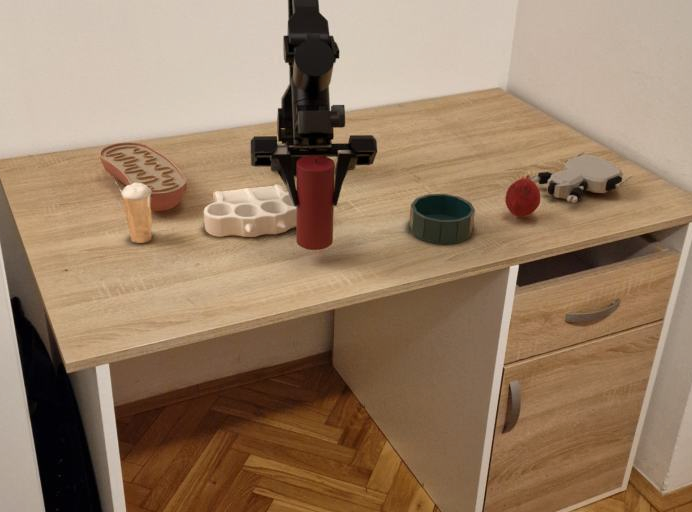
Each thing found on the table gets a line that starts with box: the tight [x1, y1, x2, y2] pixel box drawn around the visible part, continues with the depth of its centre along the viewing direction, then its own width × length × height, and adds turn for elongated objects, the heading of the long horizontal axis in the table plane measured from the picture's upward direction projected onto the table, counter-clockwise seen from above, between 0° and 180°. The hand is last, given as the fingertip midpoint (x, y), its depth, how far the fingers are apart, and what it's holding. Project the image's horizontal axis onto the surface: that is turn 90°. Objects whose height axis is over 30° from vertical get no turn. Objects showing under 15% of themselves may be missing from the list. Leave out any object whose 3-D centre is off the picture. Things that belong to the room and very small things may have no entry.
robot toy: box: [530, 150, 634, 204], centre depth 168 cm, size 12×4×15 cm
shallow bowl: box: [408, 193, 476, 245], centre depth 154 cm, size 10×10×4 cm
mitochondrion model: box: [99, 141, 187, 212], centre depth 162 cm, size 23×10×5 cm, turn 33°
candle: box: [295, 155, 336, 251], centre depth 140 cm, size 6×6×14 cm
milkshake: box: [114, 180, 153, 244], centre depth 146 cm, size 4×5×10 cm
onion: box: [504, 173, 541, 219], centre depth 157 cm, size 6×6×8 cm
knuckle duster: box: [203, 183, 296, 238], centre depth 155 cm, size 3×18×15 cm
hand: (315, 205), depth 139 cm, fingers closed on candle, 5 cm apart
